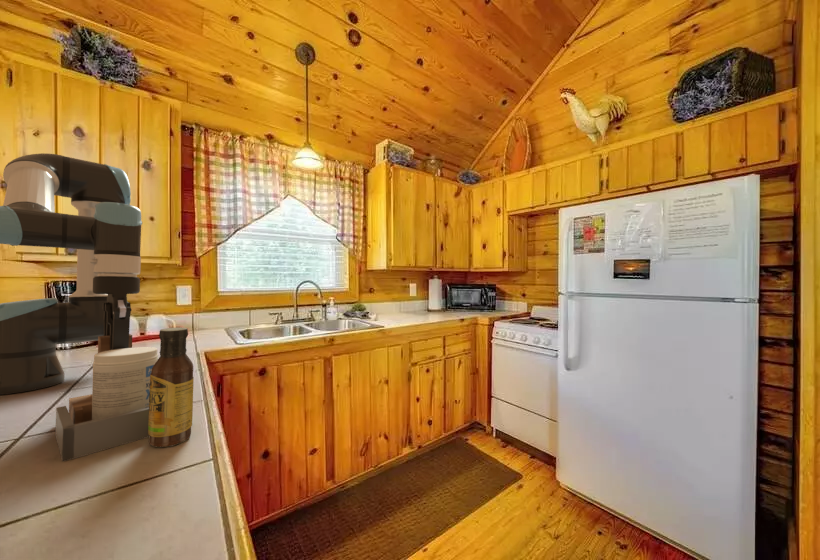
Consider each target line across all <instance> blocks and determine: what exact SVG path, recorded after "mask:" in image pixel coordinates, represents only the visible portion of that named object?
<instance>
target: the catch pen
mask: <svg viewBox="0 0 820 560" xmlns="http://www.w3.org/2000/svg"><path fill="white" fill-rule="evenodd" d="M148 426H149V407H148V408H144V409H139V410H135V411H131V412H126V413H122V414H118V415H113V416H109V417H105V418H100V419H96V420H91V421H87V422H83V423H78V424H73V422H72V419H71V417H70V415H69V409H68V408H67V405H63V406H59V407H58V406H57V407H56V408H55V436H54V437H55V440H56V443H57V446H58V450H59V454H60V458H61V461H62V462H66V461H70V460H73V459H77V458H80V457H85V456H88V455H91V454H94V453H98V452H100V451H101V452H102V451H104V450H107V449H112V448H115V447H119V446H122V445H125V444H128V443H129V444H130V443H133V442H136V441H139V440H143V439H146V438H149V437H150V435H149V434H148Z"/></svg>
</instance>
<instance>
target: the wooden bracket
mask: <svg viewBox="0 0 820 560" xmlns="http://www.w3.org/2000/svg"><path fill="white" fill-rule="evenodd" d="M129 348H133V334H130V333H129ZM109 350H110V336H98V341H97V353H100V352H104V351H109ZM68 412H69V415H70V417H71V419H72V422H73V424H78V423H83V422H87V421H91V420H92V394H85V395H80V396H75V397H70V398H68Z"/></svg>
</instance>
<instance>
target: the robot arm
mask: <svg viewBox="0 0 820 560" xmlns="http://www.w3.org/2000/svg"><path fill="white" fill-rule="evenodd" d="M2 173H3V174H2V176H3V177H2V178H3V181H4V182H5V184H6V186H7V187H6V190H5V194H4V195H5V196H4V200H3V205H0V244H1V245H8V246H9V245H10V246H13V247H14V246H17V247H18V246H25V247H42V248H59V249H70V250H71V249H72V250H76V251H77V252H76V253H77V255H76V256H77V259H76V262H77V263H76V290H75V291H74V292H73V293H71V294H70V295H68V302H59V300H58V298H56V297H51V298H50V297H49V298H37V299H36V298H35V299H29V300H28V299H26V300H18V301H10V302H1V303H0V396H1V395H10V394H11V395H13V394H18V393H24V392H29V391H31V392H32V391H34V390H40V389H44V388H45V389H46V388H48V387H52V386H55V385H58V384H62V382H64V381H65V370H64V368H63V366H62V364H61V362H60V359H59V357H58V355H57V351H56V350H57V345H60V344H63V345H64V344H74V343H83V342H94V341H95V342H98V336H110V350H115V349H124V348H129V334H130V328H131V327H130V325H131V324H130V323H131V312H132V309H133V308H132V307H131V306H132V305H131V302H128V296H127V295H137V294H139V293H140V292H141V291H140V290H141V279H140V277H138V275H140V274H141V272H142V271H141V267H142V266H141V265H142V256H141V245H142V244H141V242H142V240H141V238H142V225H143V221H142V211H141V210H140V208H139V207H137V206H134V205H131V196H132V195H131V184H130V180H129V176H128V175H127V173H126V171H124V170H123V169H122V168H119V167H115V166H113V165H112V166H111V165H108V164H106V163H99V162H94V161H88V160H84V159H78V158H74V157H71V156H70V157H69V156H65V155H62V154H56V153H44V152H43V153H32V154H25V155H21V156H19V157H16V158H15V159H12V160H11V161H9V162H7V164H6V165H5V167H4V168H3V172H2ZM55 196H56V197H57V196H58V197H62V198H63V197H64V198H70V204H71V206H73V207H74V208H75V209H76V210H77V211H78V213H77V214H69V213H61V212H56V211H55V210H56V208H55Z"/></svg>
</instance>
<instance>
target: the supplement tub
mask: <svg viewBox="0 0 820 560" xmlns="http://www.w3.org/2000/svg"><path fill="white" fill-rule="evenodd" d="M158 356H159V354H158V348H157V347H153V346H139V347H138V346H136V347H132V348H124V349H115V350H109V351H104V352H100V353H98V352H97V353H95V354H94V356H93V362H92V364H93V365H92V391H91V392H92V420H96V419H100V418H105V417H109V416H113V415H118V414H122V413H126V412H131V411H135V410H139V409H144V408H148V407H149V393H150V374H151V371H152V368H153V366H154V364H155V363H156V362H157V360H158V359H159V357H158Z"/></svg>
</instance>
